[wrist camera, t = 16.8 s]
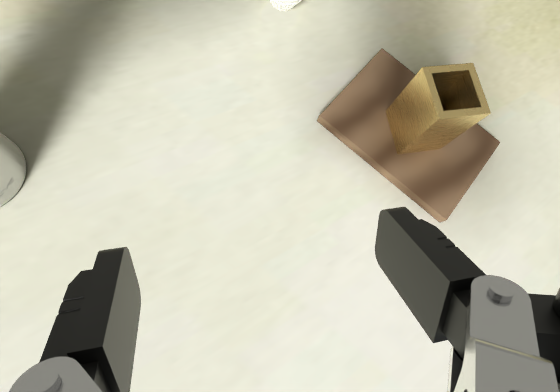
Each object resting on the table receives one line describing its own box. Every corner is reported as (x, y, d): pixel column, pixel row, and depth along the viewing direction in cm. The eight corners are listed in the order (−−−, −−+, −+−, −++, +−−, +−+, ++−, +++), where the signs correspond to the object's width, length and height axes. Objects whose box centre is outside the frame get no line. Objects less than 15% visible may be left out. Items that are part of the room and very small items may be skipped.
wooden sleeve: (397, 154, 47) (438, 118, 38) (385, 111, 48) (422, 67, 39) (440, 148, 48) (490, 113, 39) (427, 106, 49) (473, 62, 40)
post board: (316, 120, 48) (331, 92, 42) (377, 55, 52) (399, 20, 46) (439, 222, 47) (474, 209, 40) (492, 146, 51) (531, 124, 44)
